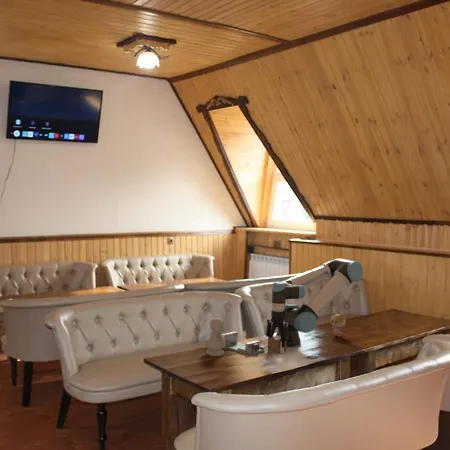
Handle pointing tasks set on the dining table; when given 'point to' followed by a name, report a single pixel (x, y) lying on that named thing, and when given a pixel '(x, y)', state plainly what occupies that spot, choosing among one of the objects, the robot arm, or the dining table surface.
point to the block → (275, 345)
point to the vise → (238, 344)
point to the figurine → (215, 338)
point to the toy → (338, 322)
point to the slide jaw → (252, 345)
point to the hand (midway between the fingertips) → (276, 351)
